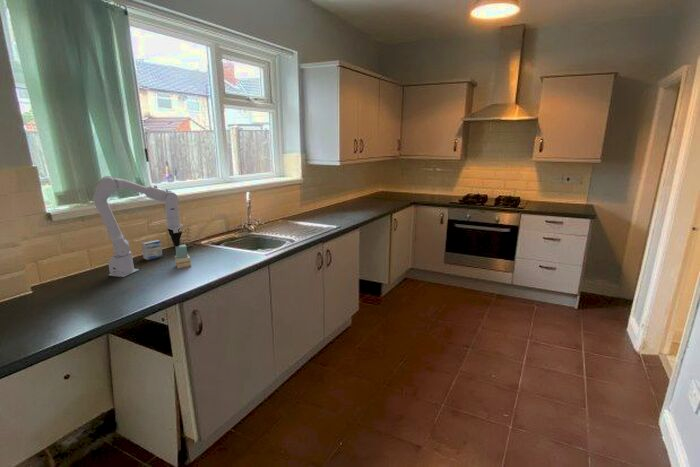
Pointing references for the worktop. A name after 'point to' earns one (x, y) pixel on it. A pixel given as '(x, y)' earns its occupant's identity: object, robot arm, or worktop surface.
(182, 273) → the worktop surface
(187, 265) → the lower slab
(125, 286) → the worktop surface
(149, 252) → the medicine box
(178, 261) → the upper slab
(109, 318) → the worktop surface
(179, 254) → the teal block
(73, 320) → the worktop surface
